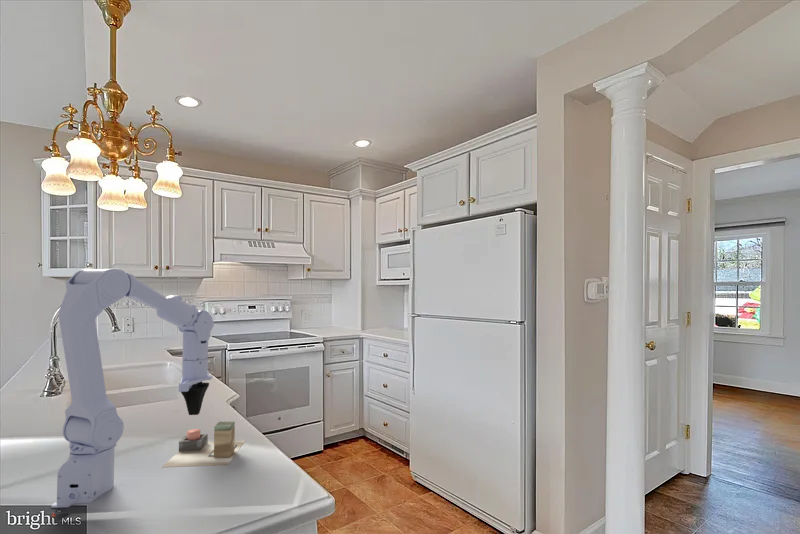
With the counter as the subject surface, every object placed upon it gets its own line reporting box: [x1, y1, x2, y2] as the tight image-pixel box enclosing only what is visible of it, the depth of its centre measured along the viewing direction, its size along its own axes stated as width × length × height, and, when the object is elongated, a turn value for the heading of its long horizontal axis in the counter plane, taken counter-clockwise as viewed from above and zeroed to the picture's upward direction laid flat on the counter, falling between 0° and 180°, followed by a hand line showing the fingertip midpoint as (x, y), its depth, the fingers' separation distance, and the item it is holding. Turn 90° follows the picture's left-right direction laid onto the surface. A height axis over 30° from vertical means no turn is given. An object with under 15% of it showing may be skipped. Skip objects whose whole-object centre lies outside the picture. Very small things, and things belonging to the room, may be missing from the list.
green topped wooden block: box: [213, 420, 236, 457], centre depth 103 cm, size 4×4×7 cm
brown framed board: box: [161, 433, 246, 468], centre depth 104 cm, size 18×16×3 cm
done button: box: [186, 428, 201, 440], centre depth 108 cm, size 3×3×3 cm
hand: (194, 414), depth 108 cm, fingers closed
